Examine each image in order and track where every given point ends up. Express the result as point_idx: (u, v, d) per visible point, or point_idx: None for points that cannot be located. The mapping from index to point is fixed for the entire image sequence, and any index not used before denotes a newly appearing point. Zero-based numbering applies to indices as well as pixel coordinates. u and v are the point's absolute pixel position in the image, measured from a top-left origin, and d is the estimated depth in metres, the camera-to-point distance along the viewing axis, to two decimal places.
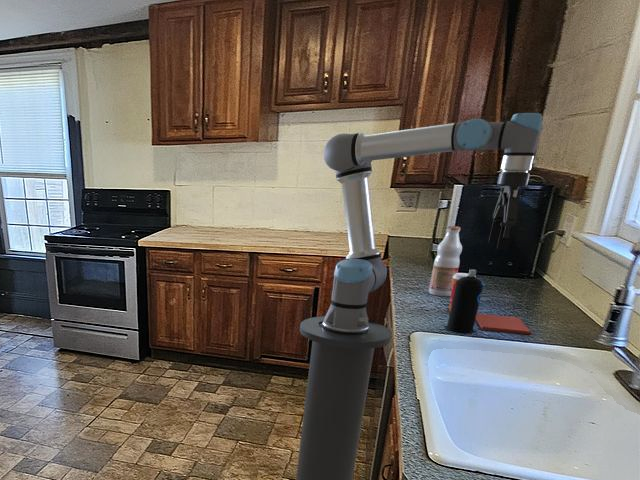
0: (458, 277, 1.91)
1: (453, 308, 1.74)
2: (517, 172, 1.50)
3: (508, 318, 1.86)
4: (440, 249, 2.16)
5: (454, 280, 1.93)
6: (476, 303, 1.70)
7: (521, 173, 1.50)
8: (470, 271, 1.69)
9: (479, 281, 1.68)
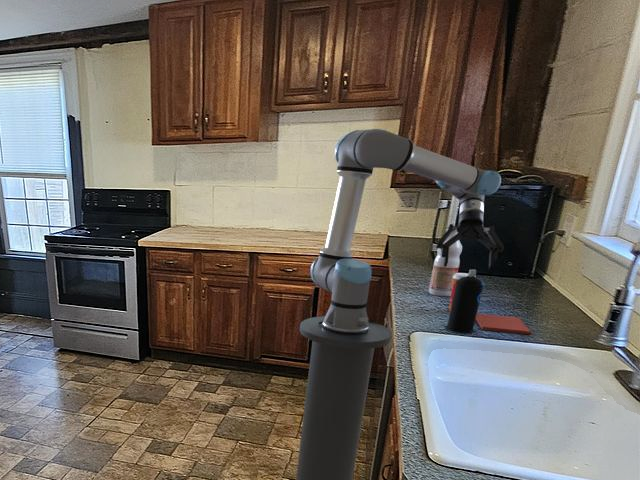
0: (458, 277, 1.91)
1: (453, 308, 1.74)
2: None
3: (508, 318, 1.86)
4: (440, 249, 2.16)
5: (454, 280, 1.93)
6: (476, 303, 1.70)
7: None
8: (470, 271, 1.69)
9: (479, 281, 1.68)
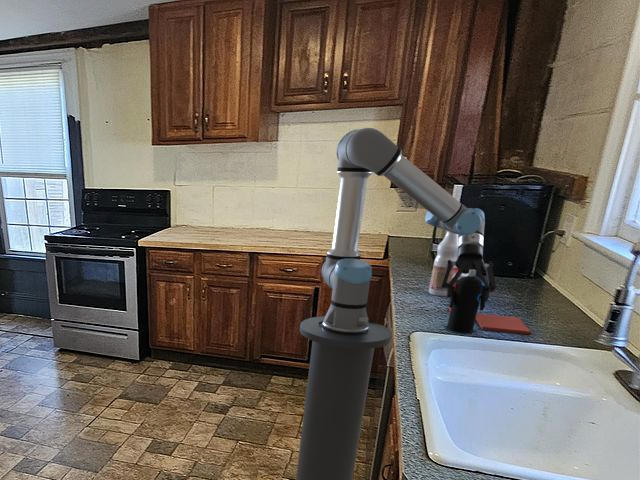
0: None
1: (453, 308, 1.74)
2: None
3: (508, 318, 1.86)
4: (440, 249, 2.16)
5: None
6: (476, 303, 1.70)
7: None
8: (470, 271, 1.69)
9: (479, 281, 1.68)
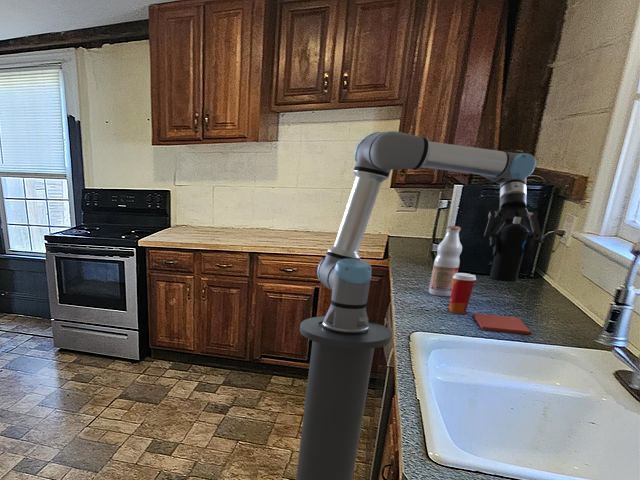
0: (458, 277, 1.91)
1: (496, 257, 1.72)
2: None
3: (508, 318, 1.86)
4: (440, 249, 2.16)
5: (454, 280, 1.93)
6: (521, 250, 1.68)
7: None
8: (515, 218, 1.68)
9: (524, 228, 1.67)
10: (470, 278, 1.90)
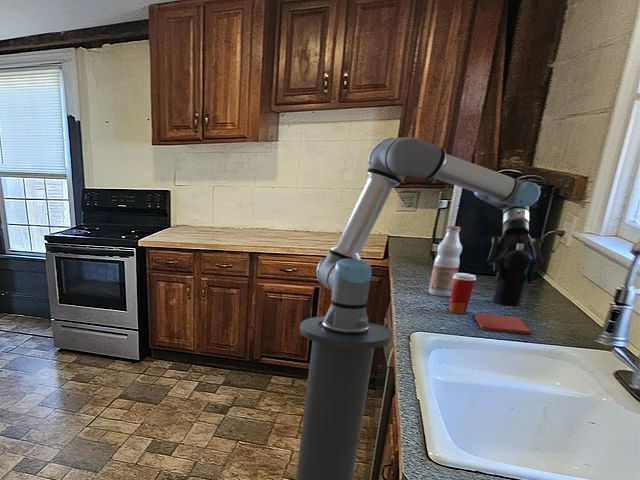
0: (458, 277, 1.91)
1: (500, 282, 1.77)
2: None
3: (508, 318, 1.86)
4: (440, 249, 2.16)
5: (454, 280, 1.93)
6: (524, 276, 1.73)
7: None
8: (518, 245, 1.72)
9: (527, 255, 1.71)
10: (470, 278, 1.90)
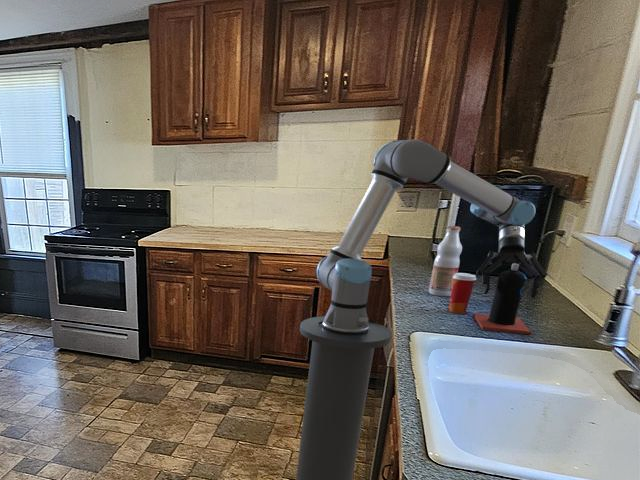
0: (458, 277, 1.91)
1: (495, 301, 1.79)
2: None
3: None
4: (440, 249, 2.16)
5: (454, 280, 1.93)
6: (519, 296, 1.75)
7: None
8: (513, 265, 1.75)
9: (522, 275, 1.73)
10: (470, 278, 1.90)
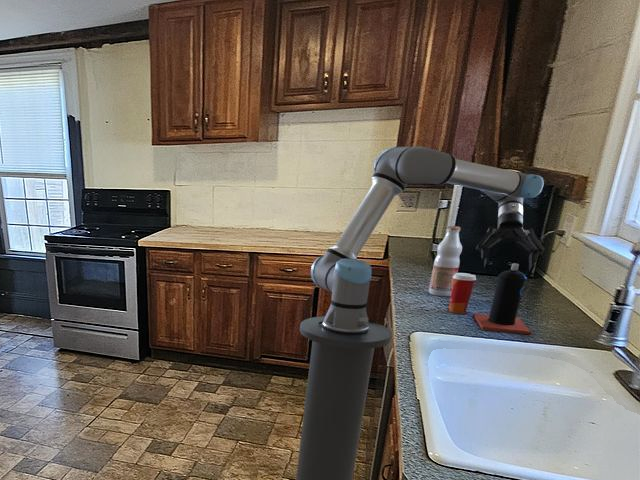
0: (458, 277, 1.91)
1: (495, 301, 1.79)
2: None
3: None
4: (440, 249, 2.16)
5: (454, 280, 1.93)
6: (519, 296, 1.75)
7: None
8: (513, 265, 1.75)
9: (522, 275, 1.73)
10: (470, 278, 1.90)
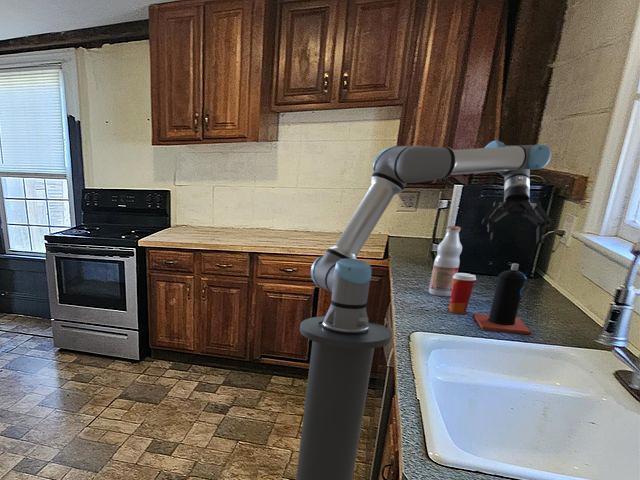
0: (458, 277, 1.91)
1: (495, 301, 1.79)
2: None
3: None
4: (440, 249, 2.16)
5: (454, 280, 1.93)
6: (519, 296, 1.75)
7: None
8: (513, 265, 1.75)
9: (522, 275, 1.73)
10: (470, 278, 1.90)
